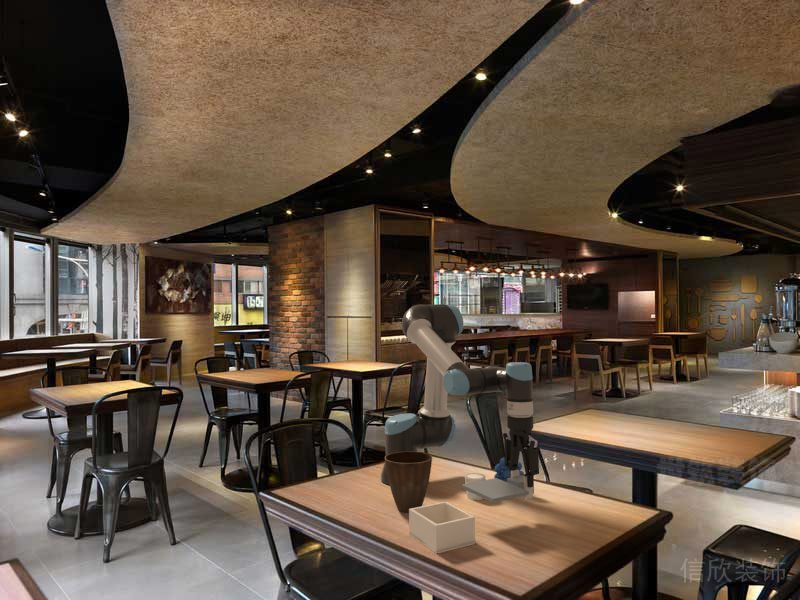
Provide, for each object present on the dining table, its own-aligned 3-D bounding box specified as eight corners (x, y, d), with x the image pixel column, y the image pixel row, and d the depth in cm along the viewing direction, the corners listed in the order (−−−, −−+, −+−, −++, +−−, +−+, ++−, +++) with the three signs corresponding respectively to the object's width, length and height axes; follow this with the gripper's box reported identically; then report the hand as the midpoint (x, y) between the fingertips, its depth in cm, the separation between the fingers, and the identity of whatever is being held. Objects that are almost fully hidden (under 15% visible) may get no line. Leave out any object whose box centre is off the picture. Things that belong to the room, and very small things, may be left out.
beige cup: (473, 492, 186) (473, 471, 186) (490, 497, 181) (489, 475, 181) (460, 497, 181) (460, 476, 181) (477, 502, 176) (477, 480, 176)
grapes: (531, 492, 185) (530, 456, 185) (520, 497, 180) (519, 460, 180) (501, 485, 193) (501, 450, 193) (490, 489, 188) (490, 454, 188)
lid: (461, 495, 159) (461, 481, 160) (512, 484, 168) (511, 471, 168) (492, 510, 147) (492, 495, 147) (545, 498, 155) (545, 484, 156)
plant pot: (378, 504, 175) (378, 453, 176) (421, 497, 181) (420, 449, 181) (395, 520, 162) (394, 465, 162) (441, 512, 167) (440, 459, 168)
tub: (409, 534, 151) (409, 508, 151) (446, 526, 156) (445, 501, 157) (436, 553, 138) (435, 525, 139) (475, 543, 144) (474, 516, 144)
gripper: (490, 412, 168) (492, 488, 167) (531, 421, 152) (533, 506, 151) (510, 409, 171) (511, 485, 170) (551, 418, 155) (553, 501, 155)
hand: (521, 494), depth 161 cm, fingers closed on lid, 5 cm apart
